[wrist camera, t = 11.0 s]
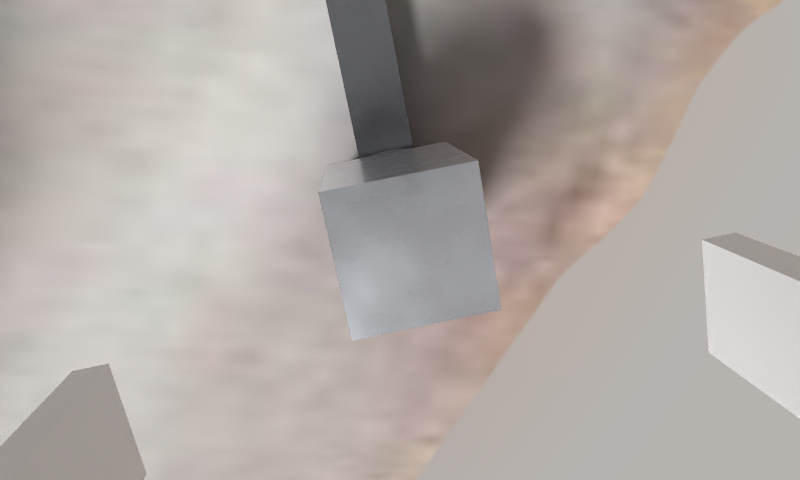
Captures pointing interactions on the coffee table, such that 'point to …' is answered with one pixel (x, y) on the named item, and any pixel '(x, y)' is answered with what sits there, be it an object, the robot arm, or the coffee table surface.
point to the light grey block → (409, 239)
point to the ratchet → (370, 75)
